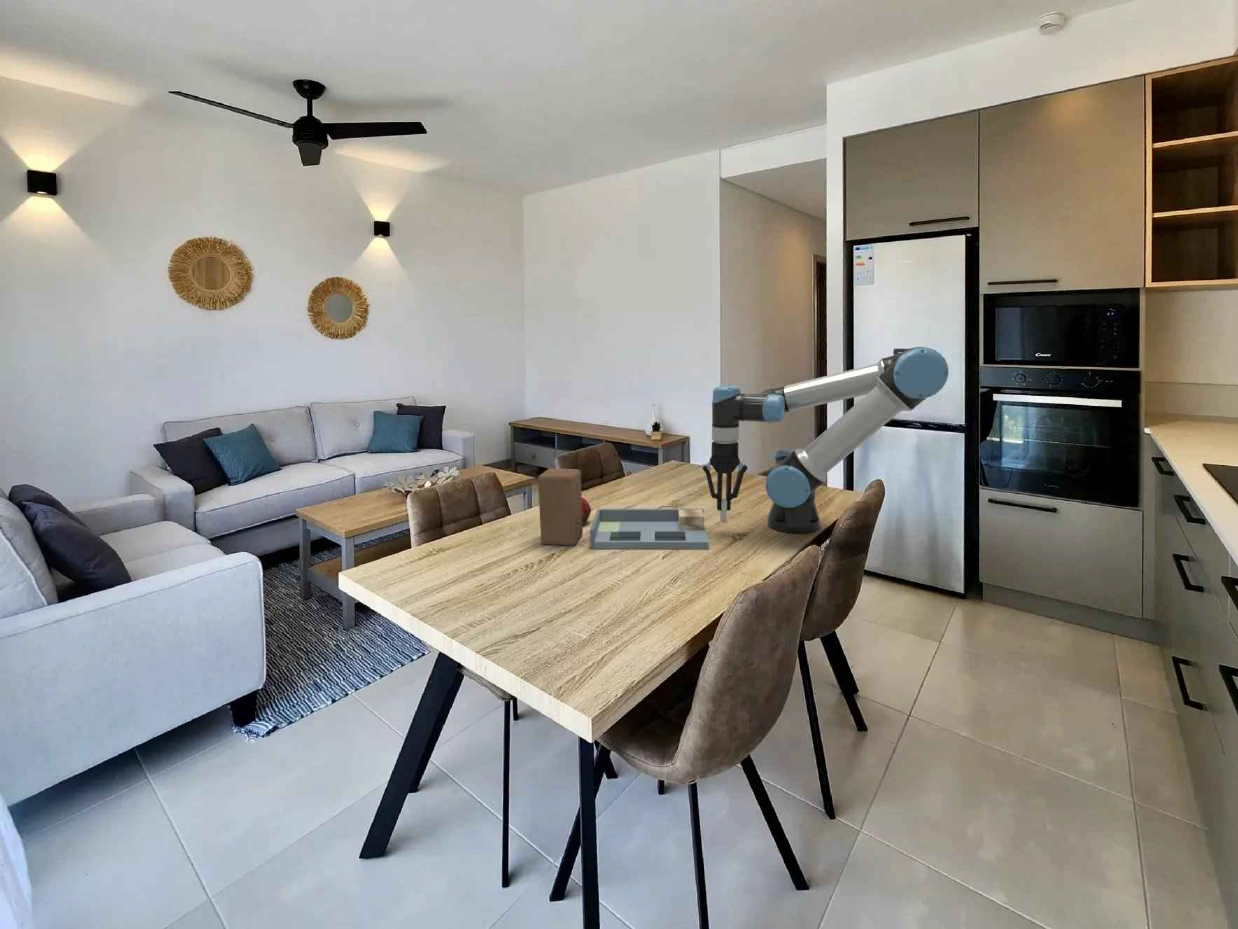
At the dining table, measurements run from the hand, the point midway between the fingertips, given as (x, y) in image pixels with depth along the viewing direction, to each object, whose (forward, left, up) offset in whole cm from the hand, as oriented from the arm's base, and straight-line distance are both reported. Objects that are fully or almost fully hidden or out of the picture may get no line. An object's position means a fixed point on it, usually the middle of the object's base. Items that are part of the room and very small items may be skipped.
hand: (723, 520), depth 175 cm
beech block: (+9, 0, -2) cm, 10 cm away
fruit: (+44, -10, -4) cm, 46 cm away
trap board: (+21, +4, -4) cm, 22 cm away
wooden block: (+46, +6, -4) cm, 47 cm away
